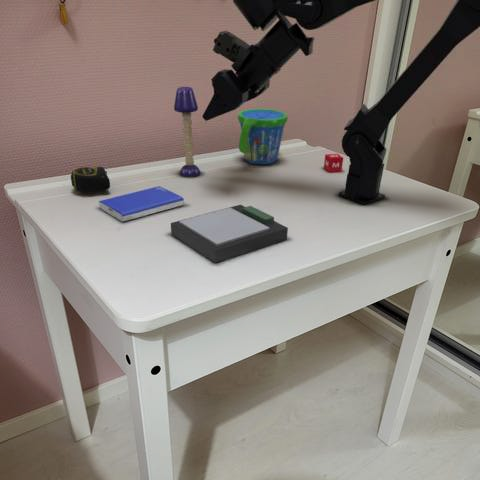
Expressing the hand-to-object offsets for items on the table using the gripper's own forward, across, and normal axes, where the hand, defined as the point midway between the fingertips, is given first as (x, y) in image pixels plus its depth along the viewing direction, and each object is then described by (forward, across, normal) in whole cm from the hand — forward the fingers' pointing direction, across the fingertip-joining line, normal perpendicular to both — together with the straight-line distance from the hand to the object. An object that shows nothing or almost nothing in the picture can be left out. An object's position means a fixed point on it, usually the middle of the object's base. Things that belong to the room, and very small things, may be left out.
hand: (212, 113), depth 95 cm
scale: (0, +27, +18) cm, 32 cm away
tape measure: (+22, +16, -4) cm, 27 cm away
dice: (-7, -15, +25) cm, 30 cm away
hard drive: (+13, +20, +5) cm, 25 cm away
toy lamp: (+13, 0, +5) cm, 14 cm away
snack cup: (+5, -15, +13) cm, 21 cm away
